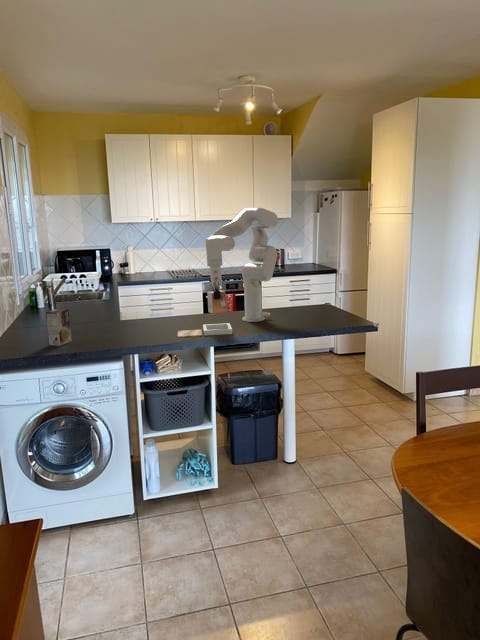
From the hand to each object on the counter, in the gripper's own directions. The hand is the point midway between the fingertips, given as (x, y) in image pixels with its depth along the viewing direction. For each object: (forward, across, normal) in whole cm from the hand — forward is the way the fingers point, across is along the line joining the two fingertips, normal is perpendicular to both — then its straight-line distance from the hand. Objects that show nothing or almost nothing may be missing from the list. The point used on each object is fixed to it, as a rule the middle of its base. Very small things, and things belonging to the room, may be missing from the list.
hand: (216, 297), depth 244 cm
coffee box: (+16, -7, +77) cm, 79 cm away
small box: (+8, 0, 0) cm, 8 cm away
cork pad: (+17, -3, +15) cm, 23 cm away
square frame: (+17, -1, +1) cm, 17 cm away
